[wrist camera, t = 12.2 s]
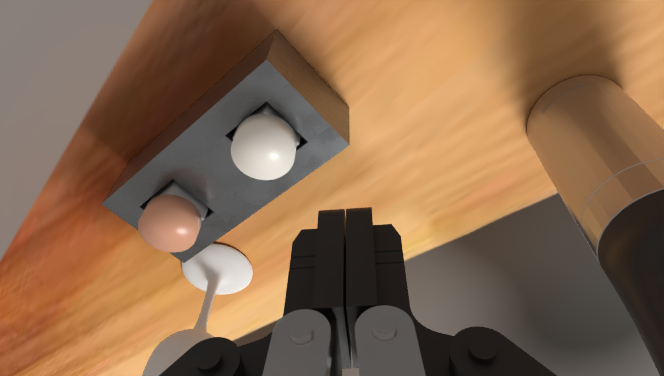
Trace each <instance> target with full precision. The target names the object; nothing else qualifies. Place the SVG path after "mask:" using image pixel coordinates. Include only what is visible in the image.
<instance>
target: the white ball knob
mask: <svg viewBox="0 0 664 376" xmlns="http://www.w3.org/2000/svg"><path fill="white" fill-rule="evenodd" d="M300 137H301V135H300V134H299V133H298V132H297V131H296V130H295V129H294V128H293V127H292V126H291V125H290V124H289V123H288V122H287V121H286V120H285V119H284V118H283V117H282V116H281V115H280V114H279V113H278V112H277V111H276V110H275V109H274V108H273V107H272V106H271V105H270V104H269V103H268V102H267V101H266V102H265V103H264V104H263V105H261V106H260V107H259V108H258V109H257V110H255V111H254V112H253V113H252V114H251V115H249V116H248V117H247V118H246V119H245V120H243V121H242V122H241V123H240V124H239V125H237V128H236V130H235V133H234V136H233V142H232V145H231V156H232V159H233V162H234V163H235V165H236V166H237V168H238V169H239V170H240V171H242V172H243V173H244V174H246V175H247V176H249V177H252V178H255V179H259V180H273V179H277V178H279V177H281V176H283V175H285V174H286V173H287V172H288V171H289V170H290V169H291V167H292V165H293V163H294V160H295V153H296V146H297V145H299V144H300Z"/></svg>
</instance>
